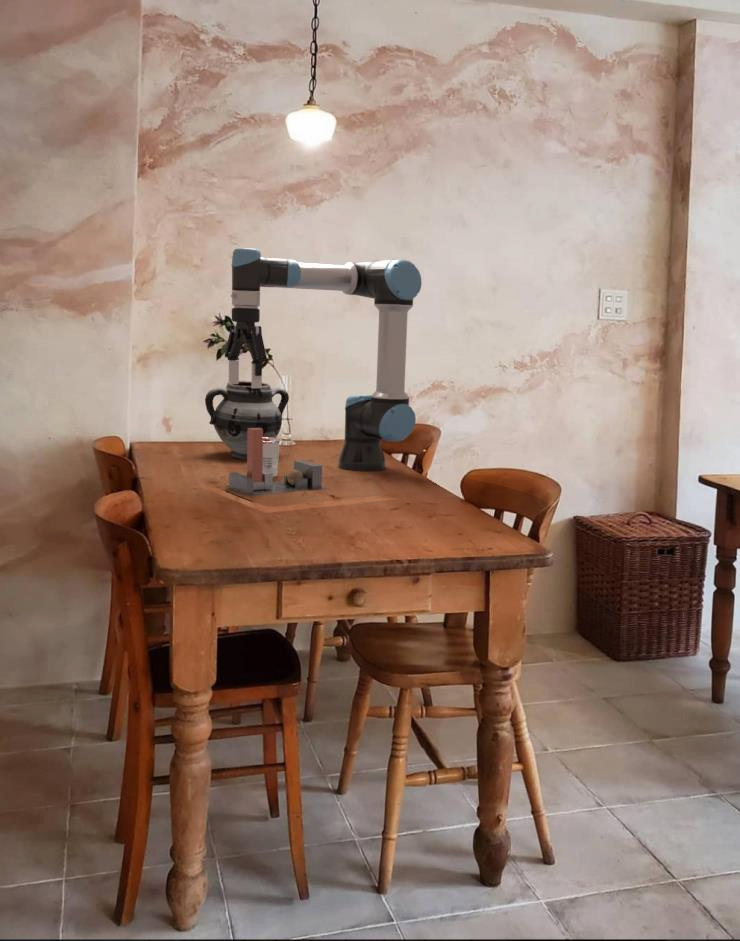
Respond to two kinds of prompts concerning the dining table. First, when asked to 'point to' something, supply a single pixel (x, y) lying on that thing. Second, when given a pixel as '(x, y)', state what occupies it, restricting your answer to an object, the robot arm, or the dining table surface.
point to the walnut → (294, 476)
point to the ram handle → (257, 460)
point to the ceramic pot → (245, 413)
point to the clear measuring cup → (270, 455)
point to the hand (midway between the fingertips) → (244, 386)
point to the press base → (308, 482)
